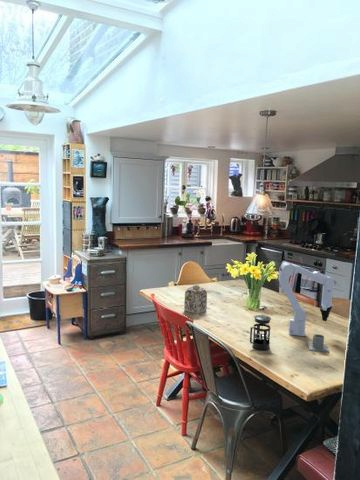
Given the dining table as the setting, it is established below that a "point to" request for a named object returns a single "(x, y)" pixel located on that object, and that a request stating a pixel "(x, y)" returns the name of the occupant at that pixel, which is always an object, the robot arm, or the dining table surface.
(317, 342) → the collar
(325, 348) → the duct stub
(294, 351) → the dining table surface
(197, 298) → the decorative jar
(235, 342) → the dining table surface
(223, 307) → the dining table surface
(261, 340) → the french press
